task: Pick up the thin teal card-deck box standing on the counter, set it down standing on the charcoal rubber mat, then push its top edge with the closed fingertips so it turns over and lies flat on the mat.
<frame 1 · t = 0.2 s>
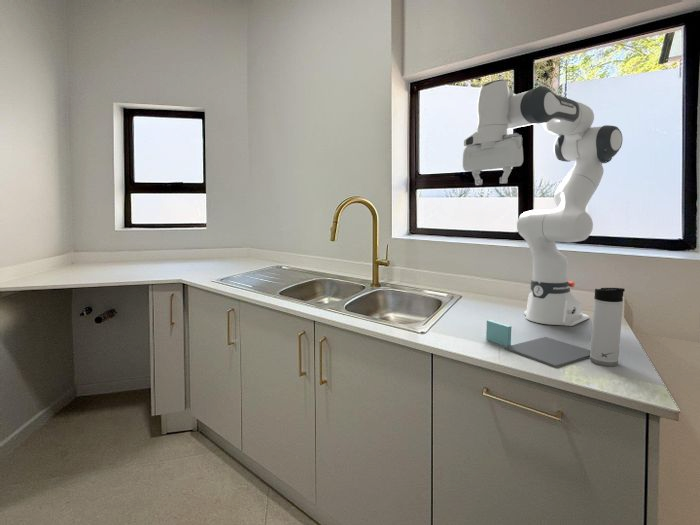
hand: (490, 184, 125), 47 cm above the worktop, fingers open, 8 cm apart
mat: (550, 351, 115), on the worktop
travel mug: (604, 363, 107), on the worktop
deck: (498, 342, 123), on the worktop
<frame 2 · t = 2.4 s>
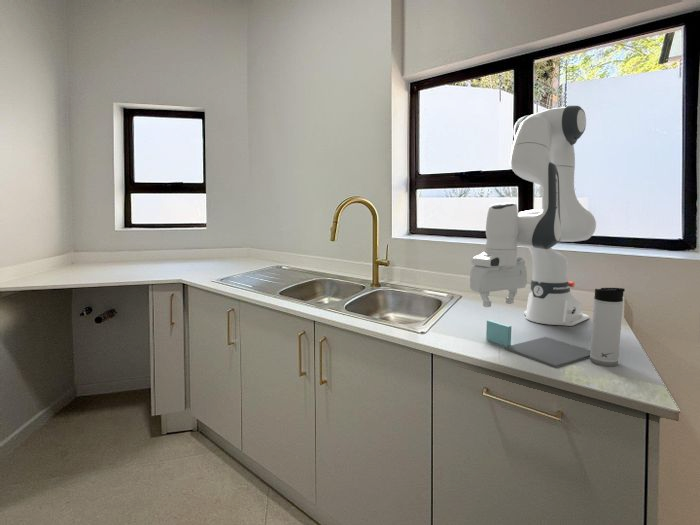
hand: (498, 305, 121), 12 cm above the worktop, fingers open, 8 cm apart
nothing on the worktop moved.
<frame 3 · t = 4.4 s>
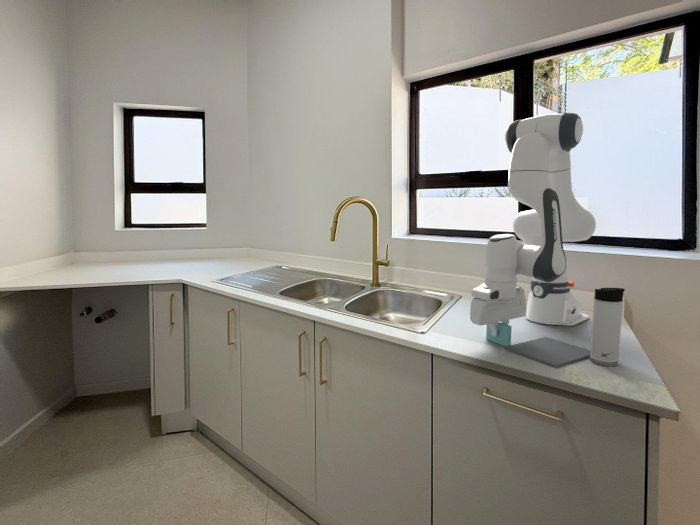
hand: (498, 334, 123), 2 cm above the worktop, fingers closed on deck, 1 cm apart
deck: (498, 342, 123), on the worktop, touching gripper
everything else where it was.
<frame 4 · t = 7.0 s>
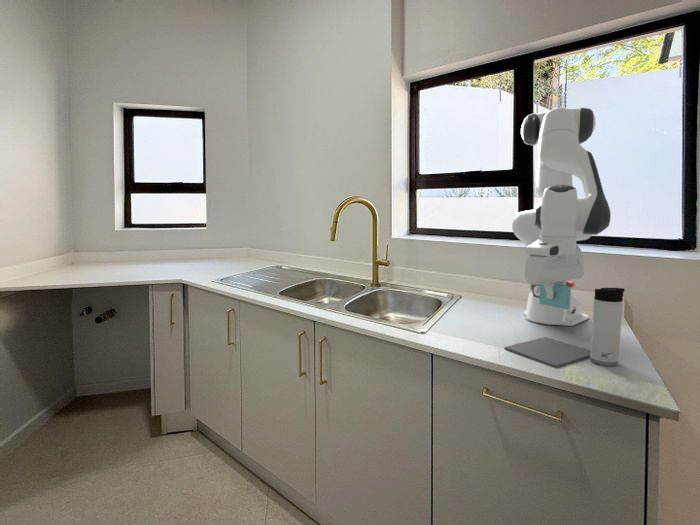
hand: (554, 297, 111), 16 cm above the worktop, fingers closed on deck
deck: (554, 306, 112), point 13 cm above the worktop, touching gripper
everything else where it was.
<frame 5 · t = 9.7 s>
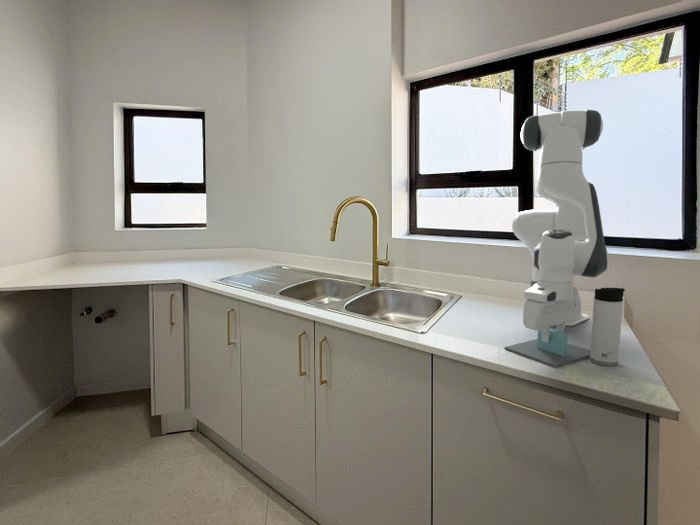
hand: (551, 339, 113), 4 cm above the worktop, fingers open, 3 cm apart
deck: (551, 351, 114), point 1 cm above the worktop, touching mat
everything else where it was.
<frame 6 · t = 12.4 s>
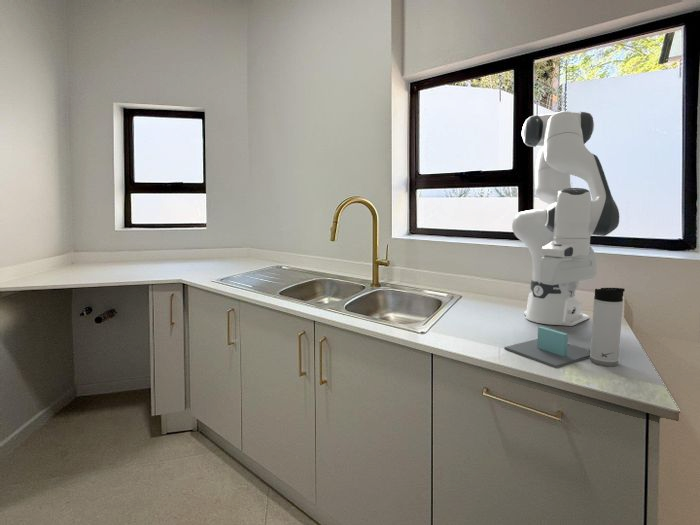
hand: (567, 297, 114), 15 cm above the worktop, fingers closed
nothing on the worktop moved.
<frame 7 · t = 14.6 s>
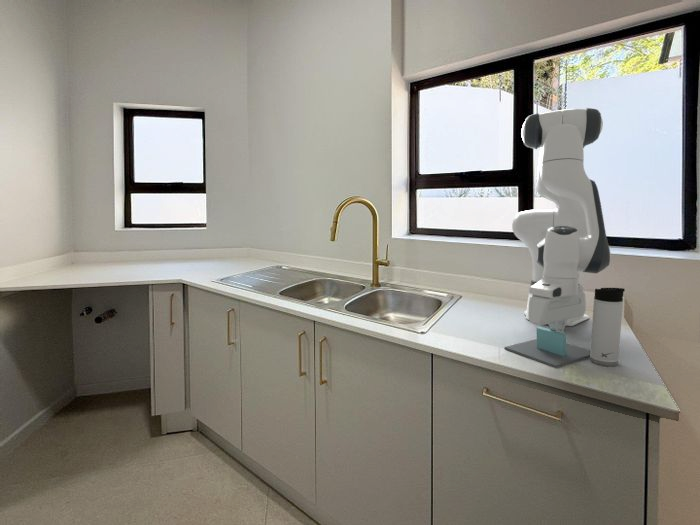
hand: (556, 335, 114), 5 cm above the worktop, fingers closed
deck: (551, 351, 114), point 1 cm above the worktop, tilted 7°, touching gripper, mat
everything else where it was.
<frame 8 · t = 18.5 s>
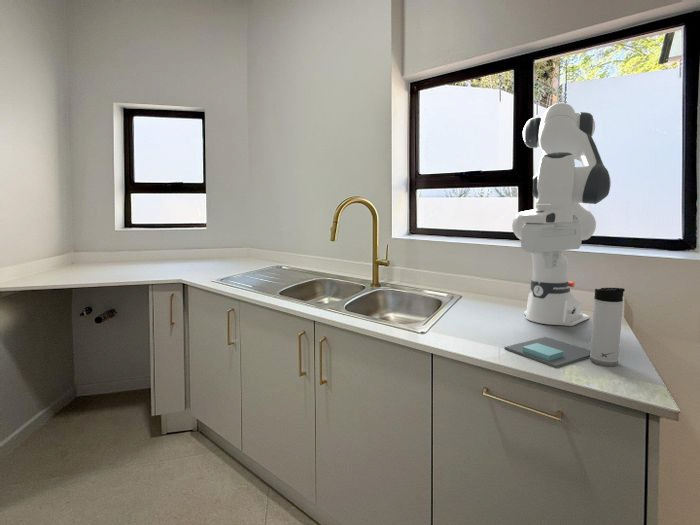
hand: (551, 267, 109), 24 cm above the worktop, fingers closed
deck: (549, 349, 113), point 1 cm above the worktop, tilted 90°, touching mat
everything else where it was.
at the end: deck tilted 90°; deck inside the target area on the mat (1.8 cm from its centre), point 1.3 cm above the mat's base; the gripper is holding nothing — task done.
